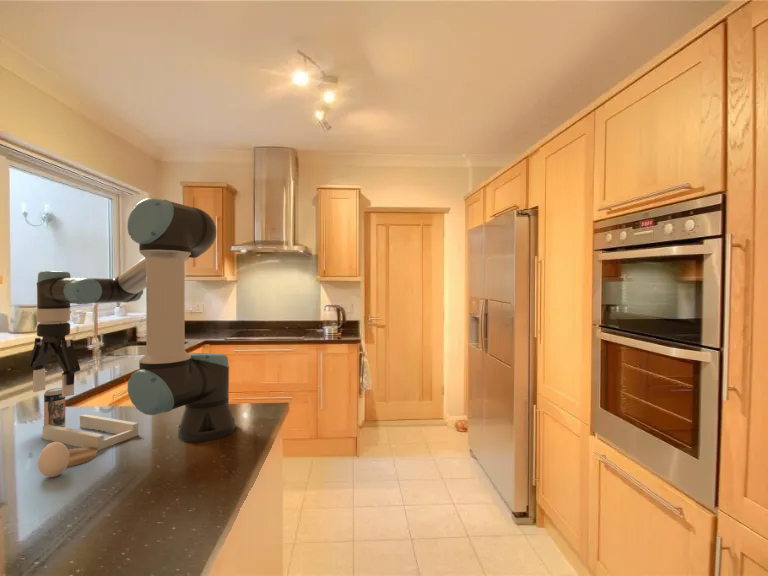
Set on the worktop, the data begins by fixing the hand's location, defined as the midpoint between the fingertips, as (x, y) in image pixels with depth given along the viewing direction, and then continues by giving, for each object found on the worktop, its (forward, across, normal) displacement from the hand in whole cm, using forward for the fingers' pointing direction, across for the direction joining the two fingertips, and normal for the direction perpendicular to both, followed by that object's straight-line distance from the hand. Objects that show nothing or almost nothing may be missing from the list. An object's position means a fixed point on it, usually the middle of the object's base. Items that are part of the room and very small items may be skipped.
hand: (53, 393), depth 113 cm
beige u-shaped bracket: (+11, -17, 0) cm, 20 cm away
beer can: (+11, -1, 0) cm, 11 cm away
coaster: (+10, -28, +11) cm, 31 cm away
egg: (+11, -34, +18) cm, 39 cm away
